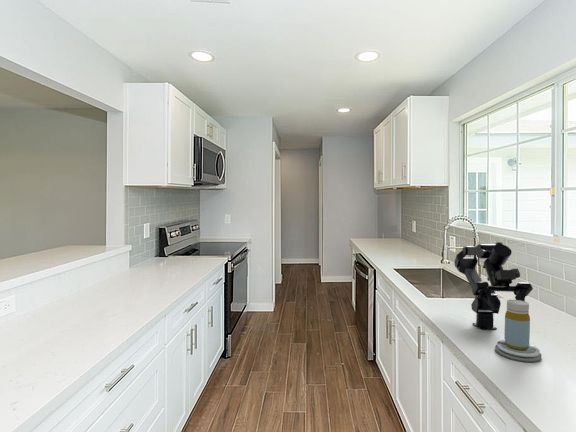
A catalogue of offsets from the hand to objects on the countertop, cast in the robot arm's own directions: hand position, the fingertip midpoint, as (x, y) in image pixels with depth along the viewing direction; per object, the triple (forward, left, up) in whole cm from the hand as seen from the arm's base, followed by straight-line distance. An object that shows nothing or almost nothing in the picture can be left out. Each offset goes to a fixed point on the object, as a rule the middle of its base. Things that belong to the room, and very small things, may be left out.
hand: (509, 310), depth 125 cm
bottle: (+6, -1, -11) cm, 12 cm away
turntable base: (+6, -1, -13) cm, 14 cm away
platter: (+6, -1, -11) cm, 13 cm away
